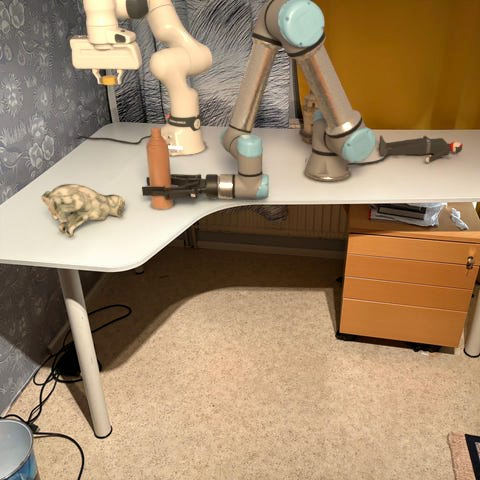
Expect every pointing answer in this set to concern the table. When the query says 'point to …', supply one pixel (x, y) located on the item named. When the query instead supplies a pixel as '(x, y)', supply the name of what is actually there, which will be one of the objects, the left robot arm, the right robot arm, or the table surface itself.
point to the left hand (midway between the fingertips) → (110, 84)
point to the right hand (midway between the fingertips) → (144, 186)
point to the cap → (108, 80)
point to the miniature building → (308, 116)
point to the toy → (420, 147)
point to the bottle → (159, 167)
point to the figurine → (80, 205)
